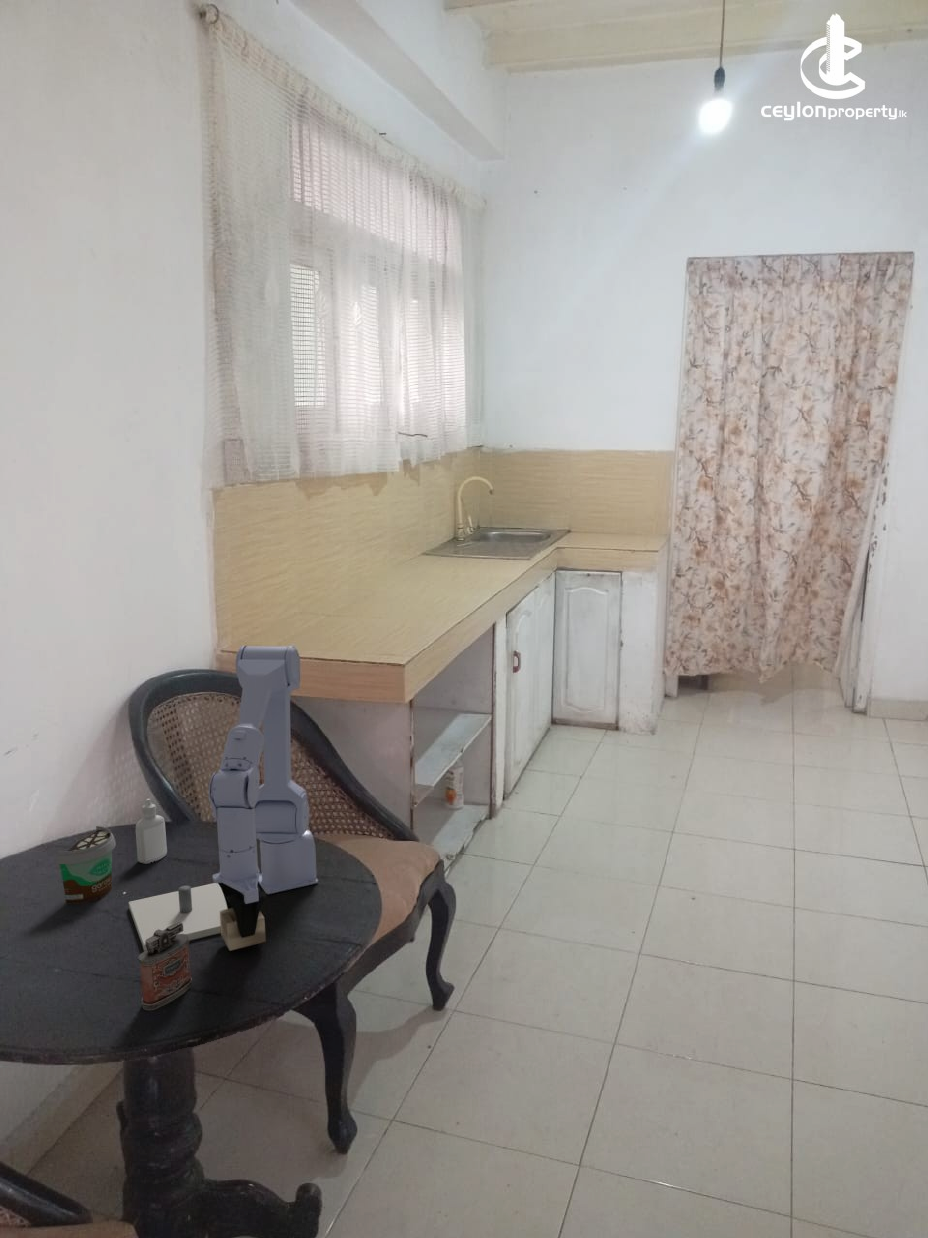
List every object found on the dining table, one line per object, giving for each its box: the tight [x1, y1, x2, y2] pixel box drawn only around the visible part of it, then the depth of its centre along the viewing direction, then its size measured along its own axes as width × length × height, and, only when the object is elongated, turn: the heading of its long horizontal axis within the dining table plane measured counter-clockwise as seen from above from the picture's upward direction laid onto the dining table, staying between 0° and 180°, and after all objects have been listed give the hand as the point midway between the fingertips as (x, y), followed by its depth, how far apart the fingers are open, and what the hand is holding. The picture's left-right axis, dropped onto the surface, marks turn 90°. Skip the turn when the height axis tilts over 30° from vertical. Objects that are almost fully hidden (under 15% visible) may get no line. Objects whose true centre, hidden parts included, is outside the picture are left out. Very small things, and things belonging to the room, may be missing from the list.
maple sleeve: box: [220, 908, 267, 951], centre depth 145 cm, size 6×6×4 cm
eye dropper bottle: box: [135, 798, 168, 865], centre depth 177 cm, size 4×6×12 cm
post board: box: [128, 882, 227, 952], centre depth 154 cm, size 16×16×5 cm
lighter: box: [137, 922, 193, 1011], centre depth 132 cm, size 8×3×10 cm, turn 148°
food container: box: [56, 825, 117, 905], centre depth 163 cm, size 12×6×10 cm, turn 168°
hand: (242, 926), depth 145 cm, fingers closed on maple sleeve, 6 cm apart
